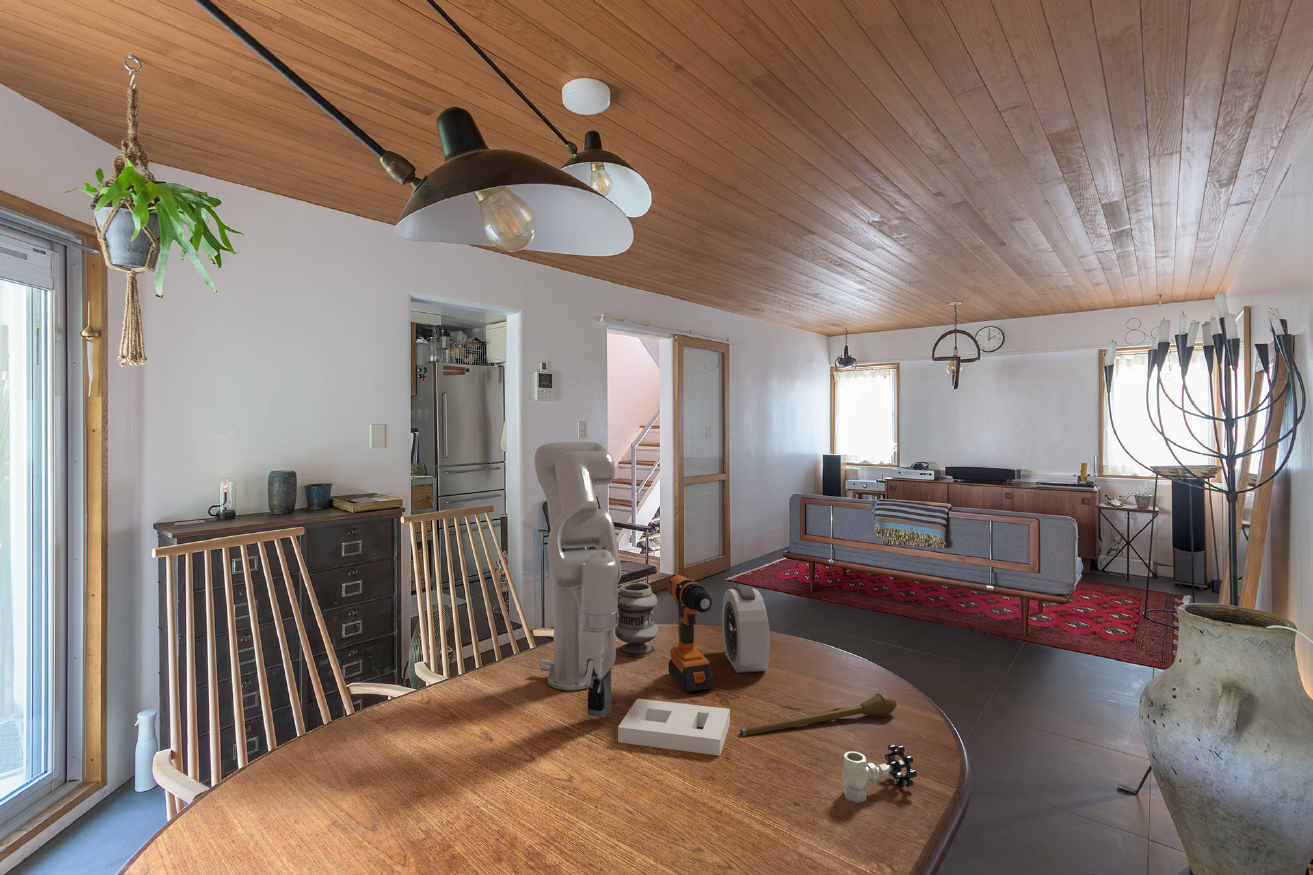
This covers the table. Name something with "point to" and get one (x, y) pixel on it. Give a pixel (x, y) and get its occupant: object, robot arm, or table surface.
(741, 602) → the alarm clock
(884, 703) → the olive long knobbed bar
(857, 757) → the valve
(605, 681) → the square peg
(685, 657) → the power drill
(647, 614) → the apothecary jar
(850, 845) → the table surface
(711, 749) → the hole board
